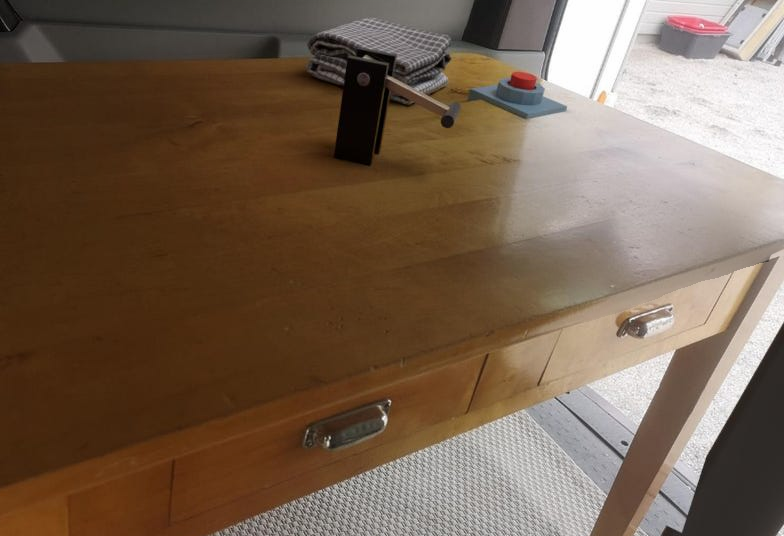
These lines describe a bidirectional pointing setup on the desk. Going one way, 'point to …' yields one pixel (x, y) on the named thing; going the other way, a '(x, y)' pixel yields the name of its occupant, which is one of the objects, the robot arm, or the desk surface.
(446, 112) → the lever
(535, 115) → the control block
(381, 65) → the switch bracket
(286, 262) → the desk surface
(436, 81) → the towel
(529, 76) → the button
